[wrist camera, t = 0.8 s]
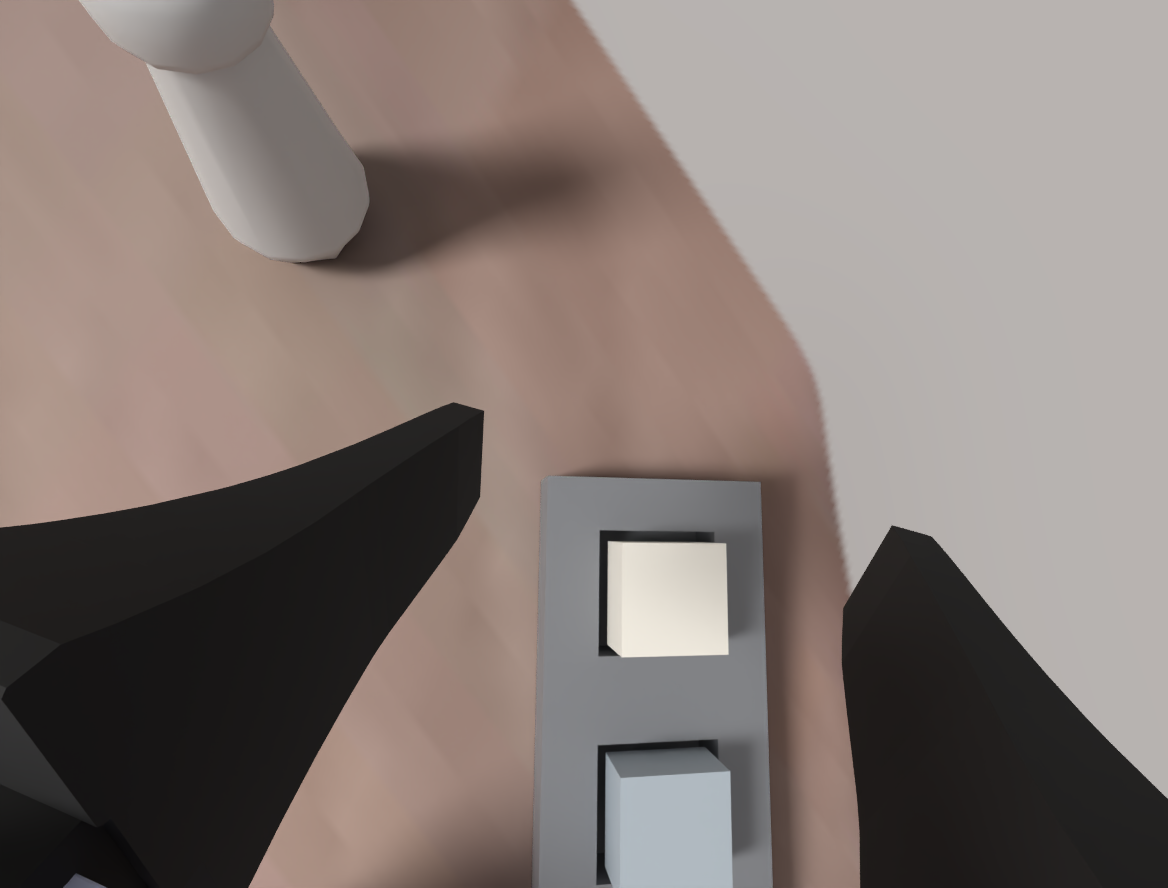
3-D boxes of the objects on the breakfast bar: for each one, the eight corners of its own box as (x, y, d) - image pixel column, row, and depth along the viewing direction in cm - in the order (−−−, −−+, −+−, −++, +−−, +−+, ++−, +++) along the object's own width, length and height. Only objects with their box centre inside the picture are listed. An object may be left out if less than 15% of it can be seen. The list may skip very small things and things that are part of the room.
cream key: (703, 642, 24) (728, 654, 22) (607, 644, 23) (621, 657, 21) (702, 542, 24) (726, 543, 22) (607, 541, 24) (622, 542, 21)
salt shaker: (403, 202, 26) (335, -100, 14) (334, 307, 25) (189, 85, 12) (282, 134, 26) (94, -246, 13) (206, 238, 25) (-81, -69, 12)
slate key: (706, 857, 23) (732, 895, 20) (604, 866, 22) (619, 906, 20) (704, 746, 23) (730, 771, 21) (605, 752, 23) (620, 777, 20)
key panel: (749, 1108, 24) (781, 1175, 21) (525, 1146, 22) (531, 1223, 20) (735, 485, 27) (760, 481, 25) (541, 480, 26) (547, 475, 23)
